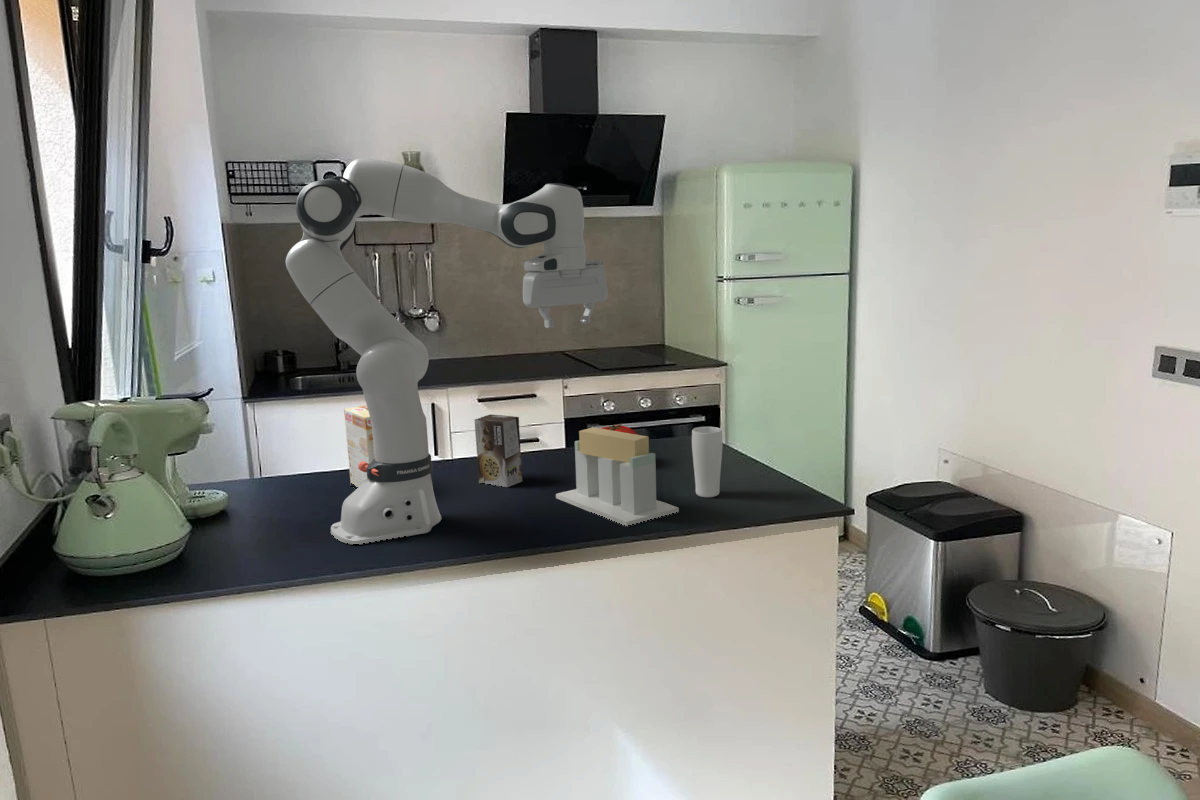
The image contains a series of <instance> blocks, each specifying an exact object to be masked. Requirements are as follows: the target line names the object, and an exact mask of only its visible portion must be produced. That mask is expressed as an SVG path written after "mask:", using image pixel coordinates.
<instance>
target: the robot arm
mask: <svg viewBox="0 0 1200 800" xmlns="http://www.w3.org/2000/svg"><path fill="white" fill-rule="evenodd" d="M584 211H585V210H584V203H583V197H582V194H581V191H579V190H578V189H577V188H576V187H574V186H572V185H569V184H564V183H558V182H556V183H554V182H551V183H545V185H543V187H542V188H540V189H539V190H537V191H535V192H534V193H532V194H530V195H529V196H526V197H524V198H521V199H519V200H516V201H513V202H509V203H505V204H504V203H503V204H502V203H501V204H499V203H492V202H489V201H486V200H482V199H479V198H475V197H471V196H467V195H465V194H462V193H459V192H457V191H456V190H454V189H452V188H450V187H449V186H447V185H446V184H445V183H444V182H443V181H441V180H440V179H439V178H438V177H436V176H433V175H432V174H430V173H428V172H426V171H423V170H420V169H418V168H416V167H412V166H409V165H407V164H405V165H404V164H401V163H397V162H393V161H392V162H391V161H387V160H382V159H373V158H356V159H353V160H352V161H351V162H350V163H349V164H347V167H346V168H345V170H344V172H343V175H342V176H341V175H338V176H334V177H329V178H326V179H320V180H316V181H315V180H314V181H313V182H311V183H308V184H306V185H305V186H304V187H303V188H302V189H301V190H300V192H299V194H298V195H297V198H296V202H295V213H296V216H297V219H298V221H299V224H300V226H301V231H302V237H301V239H299V240H300V241H298V242H297V243H295V244H294V245H293V246H292V247H291V248H290V250H289V251H288V253H287V255H286V257H285V267H286V270H287V271H288V274H289V275H290V277H291V279H292V281H293V282H294V285H295V286H296V288H297V289H298V290H299V292H300V294H301V295H302V296H303V297H304V299H305V300H306V301H307V302H308V304H309V306H311V308H312V309H313V310H314V311H315V313H316V314H317V315H318V316H319V317H320V319H321V320H322V321H323V323H324V324H325V325H326V327H328V329H329V330H330V331H331V333H332V334H333V335H334V336H335V337H336V338H338V339H339V340H341V341H343V342H344V343H345V344H347V345H348V346H349V347H350V348H352V350H354V351H355V352H356V353H358V355H360V359H359V361H358V363H357V366H356V368H355V369H356V371H355V373H356V374H355V375H356V380H357V382H358V384H359V386H360V387H361V389H362V392H363V397H364V400H365V404H366V405H367V408H368V411H369V415H370V419H371V425H372V434H373V445H374V457H375V458H374V459H373V461H372V462H371V463H370V464H368V463H366V462H365V461H362V462H360V464H358V469H360V470H361V471H363V472H367V479H366V480H365V481H364V482H363V483H362V484H361V485H360V486H359V487H358V488H357V489H355V490H354V491H352V493H350V494H349V495H348V496H347V497H346V498H345V499H344V501H343V502H342V505H341V515H340V521H338V522H335V523H333V524H332V525H331V526H330V534H331V536H332V535H333V536H334V537H333V536H332V537H333V538H334V539H336V540H337V539H338V540H337V541H340V542H341V543H344V544H347V543H348V545H353V544H359V545H364V544H363V543H365V544H369V542H371V543H376V542H375V541H377V542H381V541H380V540H383V541H387V540H386V539H388V540H392V538H394V539H399V538H398V537H400V538H403V537H404V536H406V537H410V536H416V535H421V534H422V535H423V534H427V533H430V532H431V531H432V528H433V527H434V526H436V525H437V524H439V523H440V522H441V520H442V515H441V514H440V510H439V508H438V504H437V501H436V496H435V493H434V487H433V481H432V480H433V462H432V455H431V453H430V452H429V437H428V424H427V417H426V414H425V413H424V410H423V406H422V401H421V399H420V393H419V389H418V386H419V385H418V383H419V381H421V380H422V379H423V377H424V376H425V375H426V373H427V370H428V367H429V361H430V355H429V353H428V349H427V347H426V346H425V345H424V342H422V341H421V340H420V339H418V338H417V337H415V335H413V334H412V332H410V331H409V329H408V328H407V327H405V325H403V323H401V321H400V320H399V319H398V318H396V317H395V316H394V315H393V314H392V313H391V312H390V311H389V310H387V308H386V307H384V305H383V304H381V302H380V301H379V299H377V297H376V296H375V295H374V294H373V293H372V291H371V290H370V289H369V287H368V286H367V285H366V284H365V283H364V281H363V280H362V279H361V278H360V276H359V275H358V273H356V271H355V270H354V269H353V268H352V267H351V265H350V264H349V263H348V261H347V260H346V259H345V257H344V256H343V253H342V250H343V249H344V248H345V247H346V246H347V244H348V242H350V240H351V239H352V238H353V235H354V233H355V230H356V226H357V219H358V218H360V217H362V216H365V215H379V216H382V217H386V218H390V219H393V220H398V221H401V222H408V223H414V224H415V223H417V224H437V223H445V224H446V223H447V224H448V223H449V224H455V225H460V226H465V227H468V228H472V229H475V230H480V231H483V232H485V233H486V232H487V233H488V234H492V235H493V236H495V237H497V238H498V239H499V240H501V242H503V243H504V244H505V245H507V246H509V247H511V248H515V249H525V248H528V247H531V246H534V245H535V244H539V243H542V244H543V253H542V254H539V255H537V256H535V257H533V258H530V259H528V260H526V261H525V262H524V263H523V268H524V269H523V270H524V271H525V272H526V273H525V274H524V275H523V278H522V302H523V304H524V305H525V307H526V308H531V309H533V308H534V309H535V308H538V312H539V314H540V316H541V318H542V319H543V322H544V323H543V324H544V329H550V328H554V327H555V318H551V317H550V314H549V313H550V312H551V310H550V307H558V306H568V305H579V304H581V305H582V304H583V307H584V308H585V310H584V312H583V314H582V315H580V317H579V319H580V325H588V324H589V325H590V323H591V316H592V314H593V312H594V309H595V303H601V302H606V301H607V299H608V298H609V291H608V284H607V283H608V282H607V277H606V266H605V265H604V263H603V262H601V261H600V260H599V259H593V260H590V259H587V258H586V255H587V254H586V242H585V241H584V230H585V212H584Z"/></svg>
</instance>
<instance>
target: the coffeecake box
mask: <svg viewBox="0 0 1200 800" xmlns="http://www.w3.org/2000/svg"><path fill="white" fill-rule="evenodd" d="M343 411H344V412H343V413H344V422H345V423H344V424H345V435H346V444H347V445H346V446H347V455H348V456H347V457H348V468H349V479H350V484H351V483H352V484H354V485H355V486H356V487H359V486H360V485H361V484H362V483H363V482H364V481H365V480H366V479H367V472H363V471H361V470H360V469H358V464H360V462H362V461H365V462H366V463H368V464H370V463H371V462H372V461H373V459H374V458H375V457H374V445H373V434H372V425H371V419H370V415H369V411H368V408H367V404H366V405H360V406H359V405H358V406H353V407H345V408H344V409H343Z"/></svg>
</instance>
